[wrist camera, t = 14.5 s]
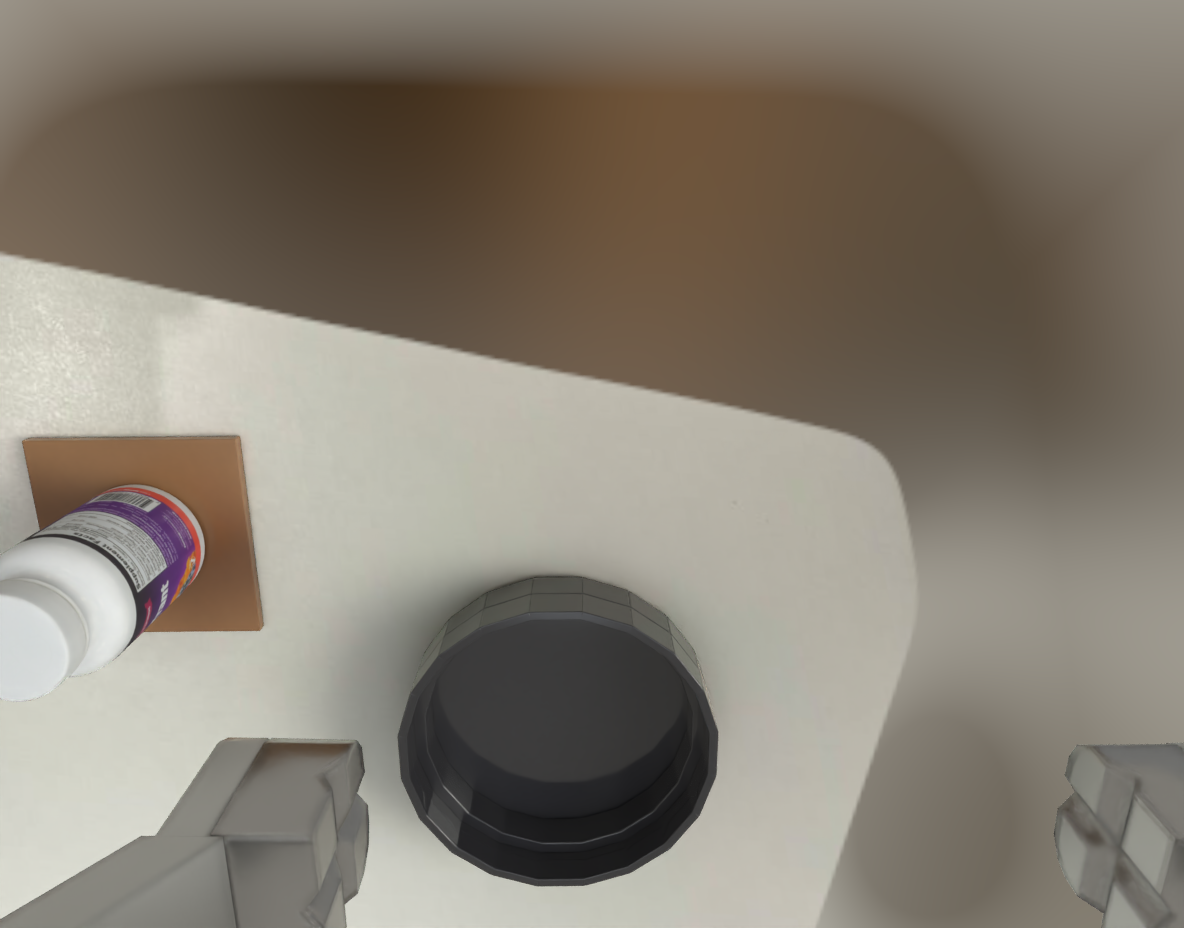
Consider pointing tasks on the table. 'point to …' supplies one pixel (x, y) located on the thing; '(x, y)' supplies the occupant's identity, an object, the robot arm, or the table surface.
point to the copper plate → (189, 473)
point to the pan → (558, 733)
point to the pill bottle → (91, 586)
